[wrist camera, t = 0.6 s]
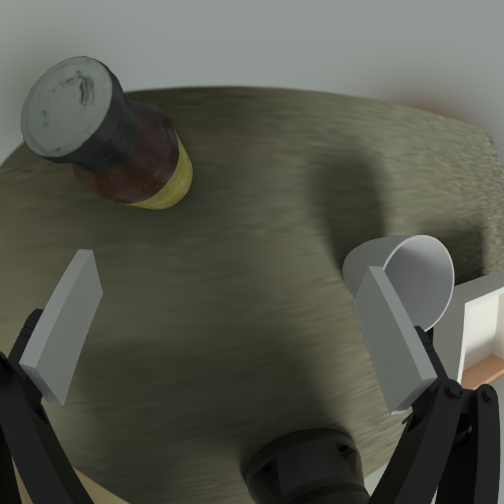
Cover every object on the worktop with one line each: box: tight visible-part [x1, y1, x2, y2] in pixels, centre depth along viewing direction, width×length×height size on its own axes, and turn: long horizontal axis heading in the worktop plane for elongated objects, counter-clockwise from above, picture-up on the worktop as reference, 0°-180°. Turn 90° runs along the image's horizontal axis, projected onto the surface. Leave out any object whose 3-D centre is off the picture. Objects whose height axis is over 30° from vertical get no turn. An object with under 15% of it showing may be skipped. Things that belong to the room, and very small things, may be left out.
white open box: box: [433, 271, 504, 390], centre depth 30 cm, size 12×12×8 cm
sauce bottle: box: [21, 56, 193, 209], centre depth 18 cm, size 6×6×20 cm
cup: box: [342, 235, 454, 332], centre depth 27 cm, size 8×8×10 cm
